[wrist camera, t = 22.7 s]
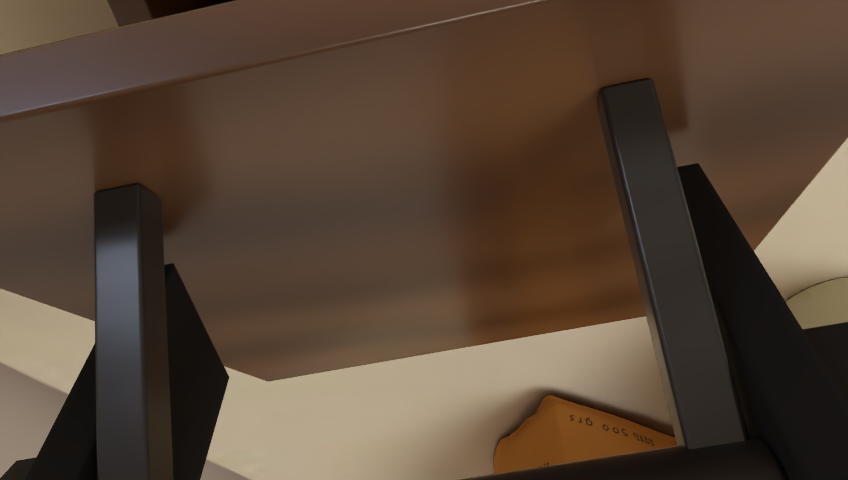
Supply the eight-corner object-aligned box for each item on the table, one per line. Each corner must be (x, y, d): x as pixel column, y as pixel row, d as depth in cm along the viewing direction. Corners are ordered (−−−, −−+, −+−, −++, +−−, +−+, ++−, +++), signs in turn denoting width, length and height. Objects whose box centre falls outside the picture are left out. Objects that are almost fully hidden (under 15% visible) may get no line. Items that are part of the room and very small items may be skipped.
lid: (-289, 118, 10) (-403, 837, 7) (1025, -186, 8) (1427, 621, 6) (265, 356, 27) (283, 584, 25) (702, 278, 26) (765, 515, 23)
